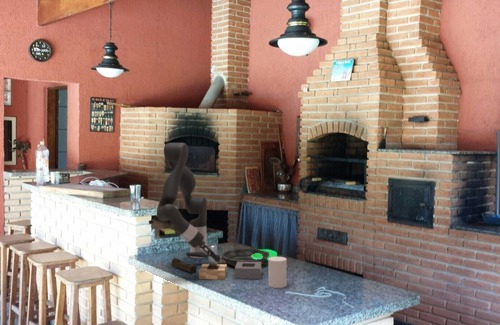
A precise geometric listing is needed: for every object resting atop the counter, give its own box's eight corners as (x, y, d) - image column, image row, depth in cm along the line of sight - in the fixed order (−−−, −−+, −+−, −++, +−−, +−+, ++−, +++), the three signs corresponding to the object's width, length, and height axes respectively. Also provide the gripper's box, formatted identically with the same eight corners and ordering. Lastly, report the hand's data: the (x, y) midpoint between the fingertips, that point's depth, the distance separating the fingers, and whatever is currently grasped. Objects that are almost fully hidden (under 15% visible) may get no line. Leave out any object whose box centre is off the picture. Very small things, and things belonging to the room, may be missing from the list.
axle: (209, 269, 245) (209, 244, 244) (217, 269, 245) (217, 244, 244) (208, 271, 241) (208, 246, 240) (216, 271, 241) (216, 246, 240)
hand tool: (197, 273, 249) (197, 263, 249) (190, 274, 246) (190, 265, 246) (176, 265, 263) (176, 256, 263) (170, 266, 261) (170, 257, 261)
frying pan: (266, 256, 279) (266, 244, 278) (272, 269, 254) (272, 255, 253) (187, 259, 275) (186, 246, 275) (184, 271, 250) (184, 258, 250)
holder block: (237, 271, 249) (237, 261, 249) (261, 271, 249) (261, 261, 248) (235, 278, 237) (235, 268, 237) (260, 279, 237) (260, 268, 236)
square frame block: (202, 271, 249) (202, 264, 249) (226, 272, 249) (226, 264, 248) (198, 279, 237) (198, 270, 237) (224, 279, 237) (224, 270, 236)
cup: (288, 283, 230) (288, 257, 229) (283, 288, 222) (283, 261, 221) (271, 281, 232) (271, 256, 232) (266, 287, 225) (266, 260, 224)
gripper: (199, 232, 233) (225, 256, 237) (194, 226, 246) (219, 249, 251) (188, 244, 232) (214, 268, 236) (183, 238, 245) (208, 260, 249)
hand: (216, 258), depth 243 cm, fingers closed on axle, 4 cm apart
